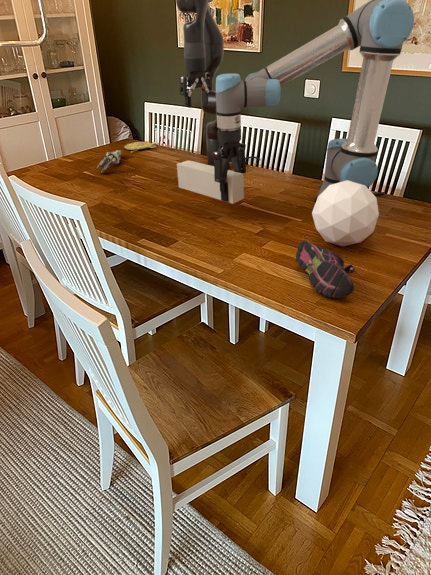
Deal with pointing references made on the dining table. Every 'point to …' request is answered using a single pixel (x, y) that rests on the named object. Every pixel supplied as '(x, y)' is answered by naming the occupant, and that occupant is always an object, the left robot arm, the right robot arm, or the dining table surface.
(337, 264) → the athletic shoe
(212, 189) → the bar
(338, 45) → the right robot arm
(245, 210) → the dining table surface
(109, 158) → the figurine
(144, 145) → the decorative object
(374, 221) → the sphere
